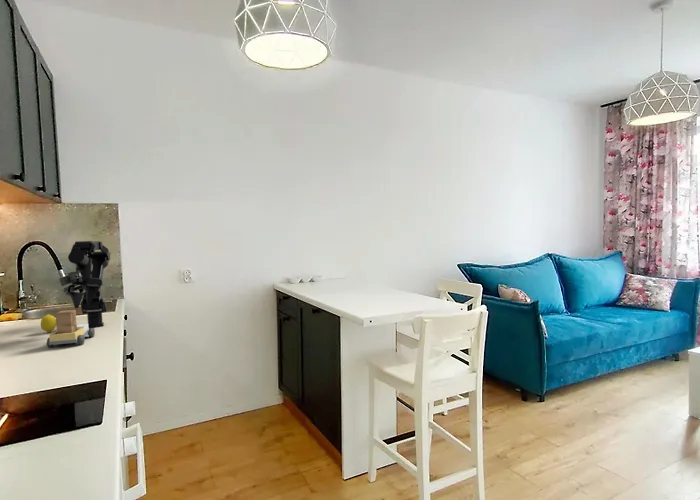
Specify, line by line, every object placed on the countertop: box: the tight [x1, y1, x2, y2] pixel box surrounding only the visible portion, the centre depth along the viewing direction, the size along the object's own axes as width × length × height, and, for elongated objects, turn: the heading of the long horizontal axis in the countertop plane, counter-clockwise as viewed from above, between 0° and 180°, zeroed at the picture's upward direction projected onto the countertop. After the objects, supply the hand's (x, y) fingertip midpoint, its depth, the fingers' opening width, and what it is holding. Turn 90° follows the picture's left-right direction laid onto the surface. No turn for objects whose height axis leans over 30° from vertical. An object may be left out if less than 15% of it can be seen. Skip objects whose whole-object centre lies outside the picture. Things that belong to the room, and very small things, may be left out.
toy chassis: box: [46, 323, 96, 348], centre depth 166 cm, size 16×11×5 cm
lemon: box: [40, 313, 57, 334], centre depth 182 cm, size 6×6×8 cm
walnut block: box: [55, 309, 78, 334], centre depth 162 cm, size 5×5×10 cm
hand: (82, 306), depth 176 cm, fingers open, 9 cm apart
